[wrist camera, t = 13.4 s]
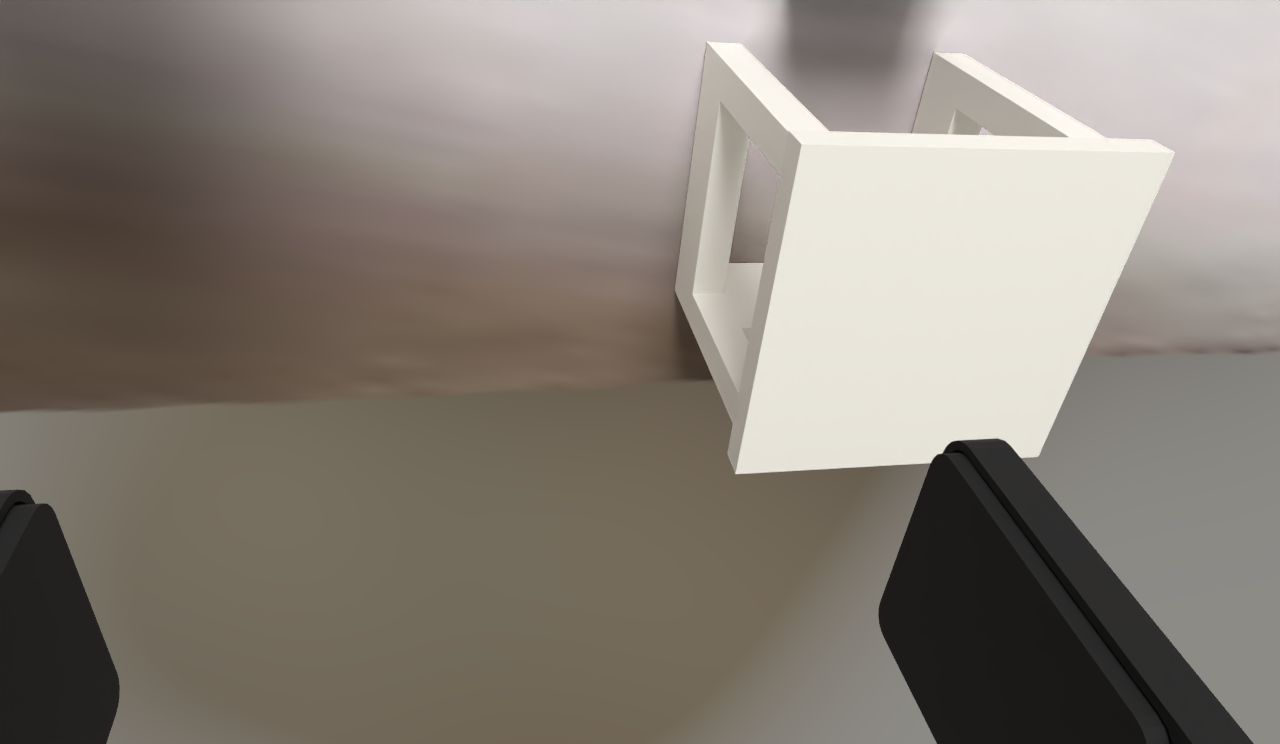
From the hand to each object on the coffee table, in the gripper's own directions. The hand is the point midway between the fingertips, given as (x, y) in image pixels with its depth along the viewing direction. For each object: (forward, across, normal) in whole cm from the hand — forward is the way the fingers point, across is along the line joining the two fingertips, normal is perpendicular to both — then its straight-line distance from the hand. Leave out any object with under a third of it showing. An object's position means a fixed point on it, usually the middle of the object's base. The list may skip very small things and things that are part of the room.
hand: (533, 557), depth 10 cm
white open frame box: (+30, -16, +8) cm, 35 cm away
